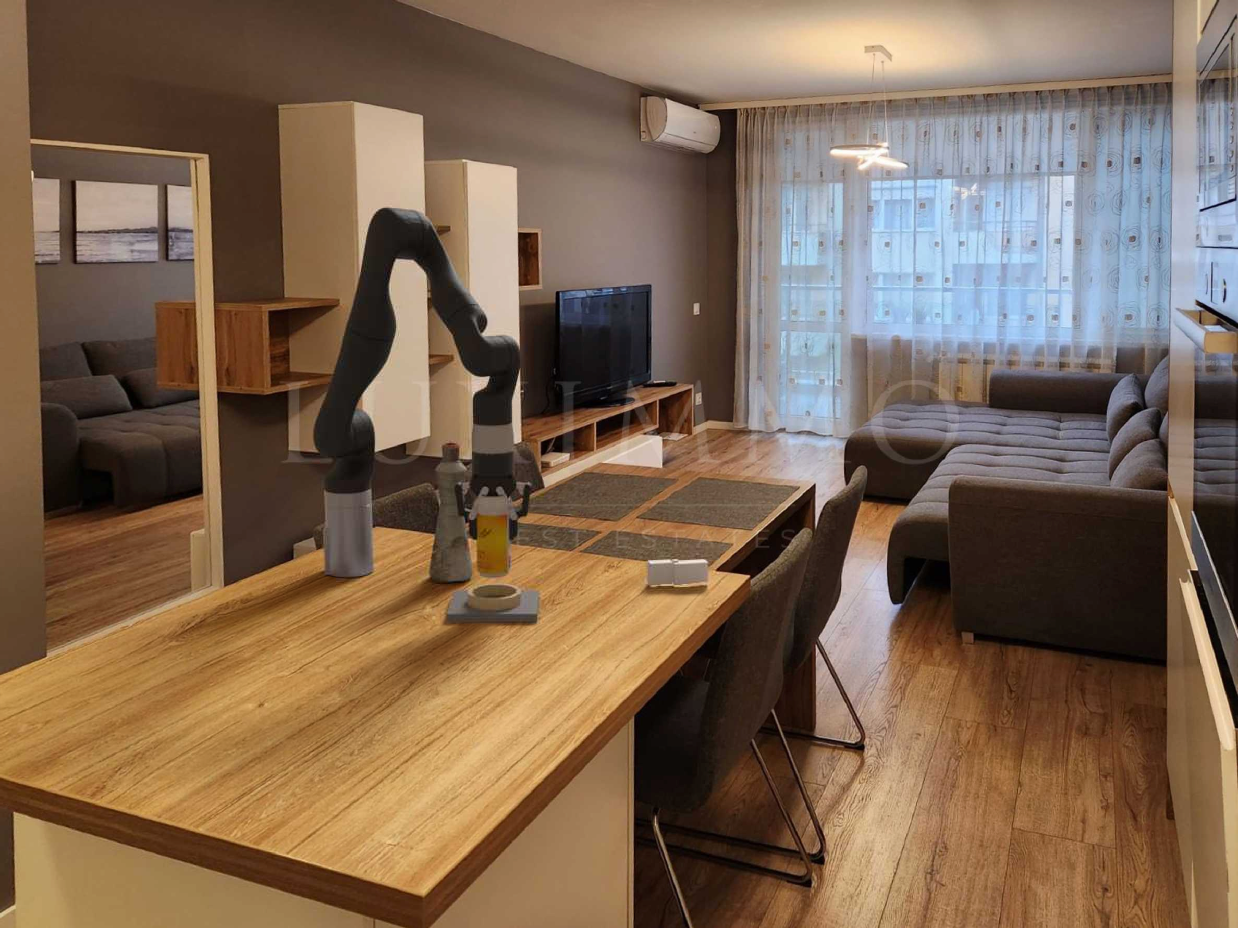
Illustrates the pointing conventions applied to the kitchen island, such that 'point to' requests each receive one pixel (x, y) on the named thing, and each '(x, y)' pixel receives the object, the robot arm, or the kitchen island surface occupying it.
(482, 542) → the beer can
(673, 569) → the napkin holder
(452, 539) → the bottle
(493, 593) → the socket board
